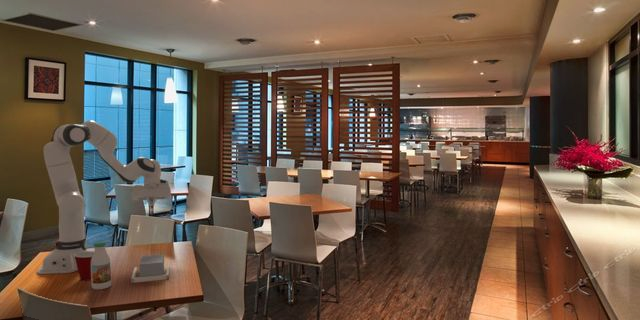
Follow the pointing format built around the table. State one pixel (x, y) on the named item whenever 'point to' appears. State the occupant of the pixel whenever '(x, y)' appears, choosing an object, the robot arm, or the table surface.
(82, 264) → the plastic cup
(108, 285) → the milk bottle
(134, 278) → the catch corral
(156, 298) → the table surface
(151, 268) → the slate block
